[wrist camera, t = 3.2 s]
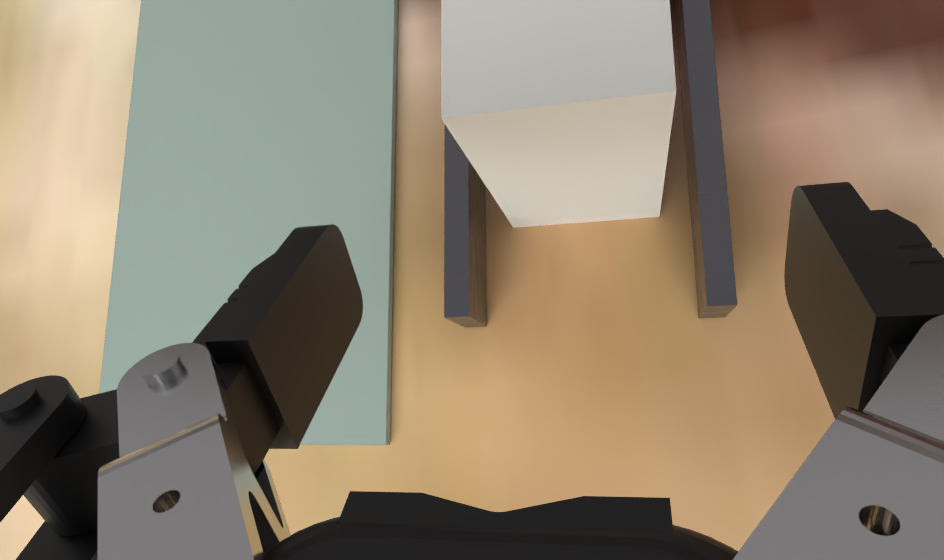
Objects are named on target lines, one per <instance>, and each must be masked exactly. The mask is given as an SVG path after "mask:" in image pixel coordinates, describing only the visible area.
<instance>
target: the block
mask: <svg viewBox="0 0 944 560" xmlns="http://www.w3.org/2000/svg"><path fill="white" fill-rule="evenodd" d="M675 97H676V79H675V66H674V53H673V40H672V27H671V14H670V1H669V0H441V119H442V120H443V122H444V123H445V125H446V126H447V128H448V129H449V131H450V132H451V134H452V136H453V137H454V139H455V140H456V142H457V143H458V145H459V146H460V148H461V149H462V151H463V152H464V154H465V155H466V157H467V158H468V160H469V161H470V163H471V164H472V166H473V167H474V169H475V170H476V172H477V173H478V175H479V176H480V178H481V179H482V181H483V182H484V184H485V185H486V187H487V188H488V190H489V191H490V193H491V194H492V196H493V198H494V199H495V201H496V202H497V204H498V205H499V207H500V208H501V210H502V211H503V213H504V214H505V216H506V217H507V219H508V220H509V222H510V223H511V225H512V226H513V228H514V227H528V226H541V225H555V224H568V223H581V222H595V221H608V220H622V219H635V218H648V217H659V216H660V209H661V201H662V194H663V187H664V179H665V172H666V164H667V157H668V149H669V142H670V134H671V127H672V119H673V112H674V104H675Z"/></svg>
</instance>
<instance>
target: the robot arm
mask: <svg viewBox="0 0 944 560" xmlns="http://www.w3.org/2000/svg"><path fill="white" fill-rule="evenodd" d="M238 286H239V289H235V290H234V292H233V293H232V294H231V295H230V296H229V298H228V299H227V300H228V302H227V303H224V304H223V305H222V306H221V308H220V309H219V310H218V311H217V312H216V314H215V315H214V316H213V317H212V319H211V320H210V321H209V322H208V323H207V325H206V326H205V327H204V328H203V330H202V331H201V332H200V333H199V335H198V336H197V337H196V338H195V339H194V341H193V342H192V343H181V344H175V345H172V346H168V347H165V348H163V349H160V350H158V351H156V352H153V353H152V354H150V355H148V356H146V357H144V358H143V359H141V360H140V361H138V362H137V363H136V364H135V365H133V366H132V367H131V368H130V369H129V370H128V371H127V372H126V373H125V374H124V375H123V377H122V378H121V380H120V382H119V384H118V387H117V389H116V390H112V391H108V392H104V393H100V394H96V395H92V396H88V397H84V398H79V396H78V395H77V393H76V392H75V391H74V389H73V388H72V386H71V385H70V383H69V382H68V380H66V379H65V378H64V377H61V376H44V377H39V378H35V379H32V380H29V381H27V382H24V383H22V384H19V385H17V386H15V387H13V388H11V389H9V390H8V391H6V392H4V393H2V394H1V395H0V522H1V521H2V520H3V518H4V517H5V516H6V515H7V514H8V512H9V511H10V510H11V509H12V508H13V506H14V505H15V504H16V503H17V501H18V500H19V499H20V498H21V497H22V495H24V496H25V497H26V499H27V500H28V501H29V502H30V503H31V505H32V506H33V507H34V508H35V509H36V510H37V512H38V513H39V514H40V515H41V516H42V518H43V519H44V520H45V522H44V523H43V524H42V526H41V527H40V528H39V530H38V531H37V532H36V534H35V535H34V536H33V538H32V539H31V540H30V542H29V543H28V544H27V546H26V547H25V548H24V549H23V551H22V552H21V553H20V555H19V556H18V557H17V559H16V560H944V258H943V257H942V255H941V254H940V253H939V252H938V251H937V249H936V248H932V243H931V242H930V241H929V240H928V239H927V237H926V236H925V235H924V234H923V232H922V231H921V230H920V229H919V228H918V226H917V225H916V224H914V223H912V222H910V221H908V220H906V219H904V218H903V217H901V216H899V215H897V214H895V213H893V212H891V211H889V210H888V209H887V210H873V211H870V209H869V208H868V207H867V205H866V204H865V203H864V201H863V200H862V198H861V197H860V196H859V194H858V193H857V192H856V190H855V189H854V188H853V186H852V185H851V184H850V183H849V182H841V183H829V184H817V185H806V186H797V187H796V188H795V189H794V192H793V195H792V201H791V210H790V220H789V230H788V240H787V251H786V261H785V290H786V296H787V300H788V304H789V307H790V309H791V312H792V314H793V317H794V319H795V321H796V324H797V326H798V329H799V331H800V334H801V336H802V339H803V341H804V344H805V346H806V348H807V351H808V353H809V356H810V358H811V361H812V363H813V366H814V368H815V370H816V373H817V375H818V378H819V380H820V383H821V385H822V388H823V390H824V393H825V395H826V397H827V400H828V402H829V405H830V407H831V410H832V412H833V415H834V417H835V420H834V422H833V423H832V424H831V426H830V427H829V429H828V430H827V431H826V433H825V434H824V435H823V437H822V438H821V440H820V441H819V442H818V444H817V445H816V446H815V448H814V449H813V450H812V452H811V453H810V455H809V456H808V457H807V459H806V460H805V461H804V463H803V464H802V466H801V467H800V468H799V470H798V471H797V472H796V474H795V475H794V477H793V478H792V479H791V481H790V482H789V483H788V485H787V486H786V487H785V489H784V490H783V492H782V493H781V494H780V496H779V497H778V498H777V500H776V501H775V503H774V504H773V505H772V507H771V508H770V509H769V511H768V512H767V513H766V515H765V516H764V518H763V519H762V520H761V522H760V523H759V524H758V526H757V527H756V529H755V530H754V531H753V533H752V534H751V535H750V537H749V538H748V539H747V541H746V542H745V544H744V545H743V546H742V548H741V549H740V550H739V552H738V551H736V550H734V549H733V548H731V547H729V546H727V545H725V544H723V543H721V542H719V541H717V540H715V539H713V538H711V537H709V536H706V535H703V534H701V533H698V532H695V531H692V530H690V529H686V528H682V527H679V526H675V525H672V516H671V506H670V498H644V497H596V496H583V497H578V498H573V499H568V500H563V501H557V502H552V503H547V504H542V505H537V506H532V507H527V508H522V509H517V510H512V511H507V512H491V511H487V510H483V509H480V508H476V507H472V506H468V505H465V504H461V503H457V502H454V501H450V500H446V499H443V498H439V497H435V496H432V495H428V494H424V493H404V492H356V491H350V493H349V495H348V498H347V501H346V503H345V506H344V508H343V511H342V514H341V516H340V517H337V518H333V519H330V520H327V521H323V522H320V523H317V524H314V525H312V526H310V527H307V528H305V529H303V530H300V531H298V532H296V533H295V534H293V535H291V534H290V531H289V528H288V525H287V522H286V519H285V516H284V513H283V510H282V507H281V503H280V500H279V497H278V494H277V491H276V488H275V485H274V482H273V479H272V476H271V473H270V470H269V468H268V466H267V464H266V462H265V460H264V457H265V456H266V454H267V452H268V450H269V449H298V447H299V445H300V443H301V441H302V439H303V437H304V435H305V433H306V431H307V429H308V427H309V425H310V423H311V421H312V419H313V417H314V415H315V413H316V411H317V409H318V407H319V405H320V403H321V401H322V399H323V397H324V395H325V393H326V391H327V389H328V387H329V385H330V383H331V381H332V379H333V377H334V375H335V373H336V371H337V369H338V367H339V365H340V363H341V361H342V359H343V357H344V355H345V353H346V351H347V349H348V347H349V345H350V343H351V341H352V339H353V337H354V335H355V333H356V331H357V329H358V327H359V325H360V322H361V319H362V314H363V299H362V293H361V289H360V286H359V283H358V280H357V277H356V274H355V271H354V268H353V265H352V262H351V259H350V256H349V253H348V250H347V247H346V244H345V240H344V237H343V235H342V233H341V231H340V229H339V228H338V227H337V226H336V225H333V224H330V225H318V226H306V227H297V228H295V229H294V230H293V231H292V232H291V233H290V235H289V236H288V237H287V238H286V240H285V241H284V242H283V243H282V245H281V246H280V247H279V248H278V250H277V251H276V252H275V253H274V254H272V255H271V256H270V257H268V258H267V259H265V260H264V261H263V262H261V263H260V264H258V265H257V266H255V267H254V268H253V269H251V271H250V272H249V273H248V274H247V276H246V277H245V278H244V279H243V281H242V282H241V283H240V284H239V285H238Z"/></svg>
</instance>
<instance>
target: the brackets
mask: <svg viewBox="0 0 944 560" xmlns="http://www.w3.org/2000/svg"><path fill="white" fill-rule="evenodd" d="M674 6H675V19H676V32H677V44H678V57H679V70H680V83H681V96H682V108H683V121H684V134H685V147H686V160H687V172H688V185H689V198H690V211H691V224H692V236H693V249H694V262H695V275H696V288H697V300H698V313H699V318H715V317H726V316H727V315H728V314H729V313H730V312H731V311H732V310H733V309H734V308H735V307H736V306H737V297H736V286H735V275H734V264H733V253H732V242H731V231H730V220H729V209H728V197H727V186H726V175H725V164H724V153H723V142H722V131H721V120H720V109H719V98H718V87H717V76H716V65H715V54H714V43H713V32H712V21H711V10H710V0H674ZM444 317H445V318H447V319H449V320H451V321H453V322H455V323H457V324H459V325H461V326H463V327H482V326H487V303H486V217H485V184H484V182H483V181H482V179H481V178H480V176H479V175H478V173H477V172H476V170H475V169H474V167H473V166H472V164H471V163H470V161H469V160H468V158H467V157H466V155H465V154H464V152H463V151H462V149H461V148H460V146H459V145H458V143H457V142H456V140H455V139H454V137H453V136H452V134H451V132H450V131H449V129H448V128H447V126H446V125H445V264H444Z"/></svg>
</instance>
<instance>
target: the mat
mask: <svg viewBox="0 0 944 560" xmlns="http://www.w3.org/2000/svg"><path fill="white" fill-rule="evenodd" d="M397 25H398V0H141V8H140V17H139V27H138V36H137V45H136V55H135V64H134V73H133V83H132V92H131V101H130V111H129V120H128V129H127V138H126V148H125V157H124V166H123V176H122V185H121V194H120V204H119V213H118V222H117V232H116V241H115V250H114V260H113V269H112V278H111V287H110V297H109V306H108V315H107V325H106V334H105V343H104V353H103V362H102V371H101V381H100V390H99V394H100V393H104V392H108V391H112V390H116V389H117V387H118V384H119V382H120V380H121V378H122V377H123V375H124V374H125V373H126V372H127V371H128V370H129V369H130V368H131V367H132V366H133V365H135V364H136V363H137V362H138V361H140V360H141V359H143V358H144V357H146V356H148V355H150V354H152V353H153V352H156V351H158V350H160V349H163V348H165V347H168V346H172V345H175V344H181V343H192V342H193V341H194V339H195V338H196V337H197V336H198V335H199V333H200V332H201V331H202V330H203V328H204V327H205V326H206V325H207V323H208V322H209V321H210V320H211V319H212V317H213V316H214V315H215V314H216V312H217V311H218V310H219V309H220V308H221V306H222V305H223V304H224V303H227V302H228V300H227V299H228V298H229V296H230V295H231V294H232V293H233V292H234V290H235V289H239V286H238V285H239V284H240V283H241V282H242V281H243V279H244V278H245V277H246V276H247V274H248V273H249V272H250V271H251V269H253V268H254V267H255V266H257V265H258V264H260V263H261V262H263V261H264V260H265V259H267V258H268V257H270V256H271V255H272V254H274V253H275V252H276V251H277V250H278V248H279V247H280V246H281V245H282V243H283V242H284V241H285V240H286V238H287V237H288V236H289V235H290V233H291V232H292V231H293V230H294V229H295V228H297V227H306V226H318V225H330V224H333V225H336V226H337V227H338V228H339V229H340V231H341V233H342V235H343V237H344V240H345V244H346V247H347V250H348V253H349V256H350V259H351V262H352V265H353V268H354V271H355V274H356V277H357V280H358V283H359V286H360V289H361V293H362V299H363V314H362V319H361V322H360V325H359V327H358V329H357V331H356V333H355V335H354V337H353V339H352V341H351V343H350V345H349V347H348V349H347V351H346V353H345V355H344V357H343V359H342V361H341V363H340V365H339V367H338V369H337V371H336V373H335V375H334V377H333V379H332V381H331V383H330V385H329V387H328V389H327V391H326V393H325V395H324V397H323V399H322V401H321V403H320V405H319V407H318V409H317V411H316V413H315V415H314V417H313V419H312V421H311V423H310V425H309V427H308V429H307V431H306V433H305V435H304V437H303V439H302V441H301V443H300V444H302V445H389V444H390V414H391V358H392V303H393V247H394V192H395V136H396V81H397Z"/></svg>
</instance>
